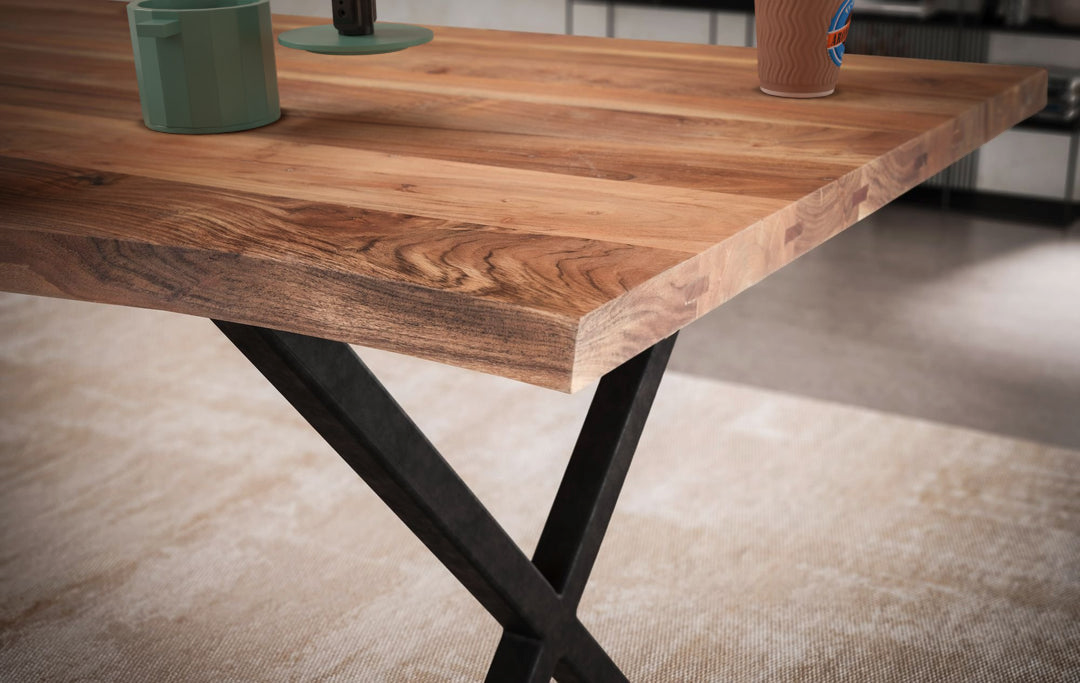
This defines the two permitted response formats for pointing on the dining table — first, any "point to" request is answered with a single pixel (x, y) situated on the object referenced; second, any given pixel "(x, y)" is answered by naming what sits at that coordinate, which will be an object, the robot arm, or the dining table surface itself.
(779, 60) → the coffee cup
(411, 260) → the dining table surface
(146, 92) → the pot
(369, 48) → the lid
